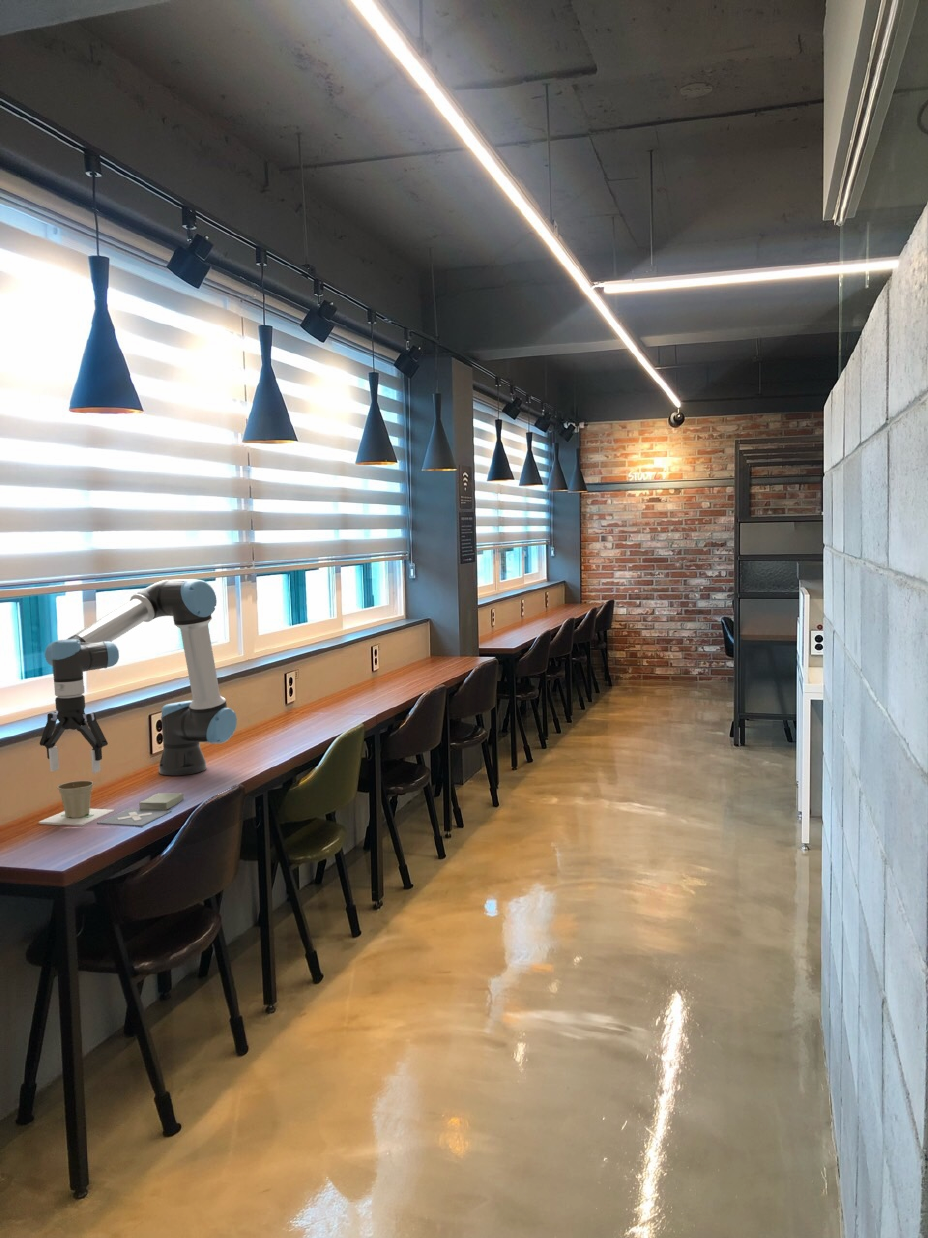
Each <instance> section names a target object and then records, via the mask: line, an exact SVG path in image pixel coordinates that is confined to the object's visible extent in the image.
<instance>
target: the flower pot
mask: <svg viewBox="0 0 928 1238" xmlns="http://www.w3.org/2000/svg"><path fill="white" fill-rule="evenodd" d="M93 785H94V781H91V780H75V781H70V782H69V781H68V782H65V783H62V784H59V785H57V787H56V789H57V790H59V794H60V797H61V801H62V807H63V809H64V810H63V811H65V816H66V817H68V818H69V817H72V818H77V817H83V816H85V815H88V814H89V813H90V809H91V800H92V798H91V797H92V790H93Z"/></svg>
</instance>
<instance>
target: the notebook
mask: <svg viewBox="0 0 928 1238" xmlns="http://www.w3.org/2000/svg"><path fill="white" fill-rule="evenodd" d="M183 800H184V793H178V792H175V793H173V792H172V793H171V792H170V793H169V792H168V793H167V792H166V793H165V792H164V793H162V792H161V793H159V792H158V793H155V794H153V795H151V796H150V797H147V798H146V799H144V800H142V801H140V802H139V803H138V804H139V805H138V806H139V807H138V809H140V810H169V809H170V808H173V807H174V806H176V805H178V804H179V803H180V802H181V801H183Z"/></svg>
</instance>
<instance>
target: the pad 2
mask: <svg viewBox="0 0 928 1238" xmlns="http://www.w3.org/2000/svg"><path fill="white" fill-rule="evenodd" d="M172 812H173V811H172V810H169V809H167V810H140V809H139V808H131V807H130V808H129V807H128V808H126V809H124V810H122V811H120V812H118V813H115V814H113V815H111V816H109V817H107V818H105V819H102V820H100V821H98V822H96V824H97V825H106V826H107V825H109V826H111V825H112V826H129V827H140V828H143V827H144V826H146V825H148V824H151V823H153V822H154V821H156V820H158V819H160V818H163V817H164V816H167V815H168V814H171V813H172Z"/></svg>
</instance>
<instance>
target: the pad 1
mask: <svg viewBox="0 0 928 1238" xmlns="http://www.w3.org/2000/svg"><path fill="white" fill-rule="evenodd" d="M115 811H116V810H115V809H103V808H90V813H89V814H88V815H85V816H83V817H77V818H72V817H69V818H68V817H66V816H65V810H63V811H61V812H59V813H57V814H54V815H51V816H49V817H47V818H43V819H42V820H40V821H38V824H39V825H54V826H62V825H65V826H66V825H67V826H68V825H69V826H70V825H71V826H81V827H82V826H84V825H87V824H89V823H91V822H94V821H96V820H98V819H100V818H102V817H105V816H107V815H109V814H112V813H114V812H115Z"/></svg>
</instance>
